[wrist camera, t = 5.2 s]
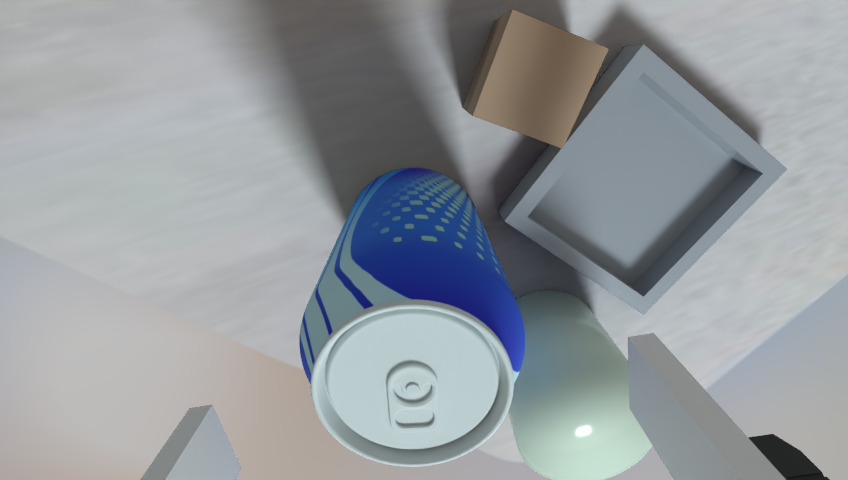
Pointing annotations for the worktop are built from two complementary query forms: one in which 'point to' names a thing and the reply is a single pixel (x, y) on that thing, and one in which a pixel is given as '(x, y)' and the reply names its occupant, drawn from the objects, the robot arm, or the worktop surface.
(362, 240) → the beer can
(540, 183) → the slate tray
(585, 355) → the pale green cylinder
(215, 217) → the worktop surface
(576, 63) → the walnut block
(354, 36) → the worktop surface
